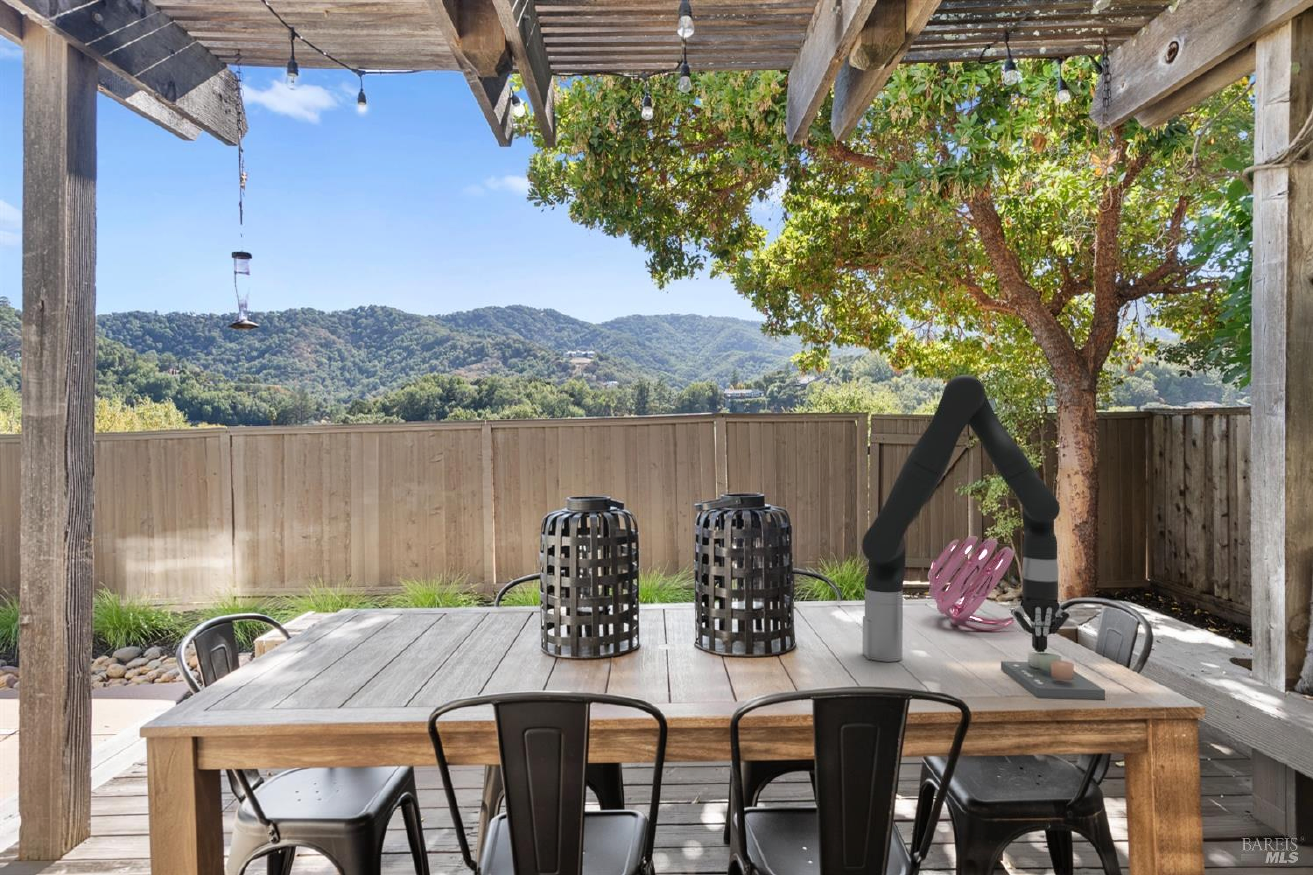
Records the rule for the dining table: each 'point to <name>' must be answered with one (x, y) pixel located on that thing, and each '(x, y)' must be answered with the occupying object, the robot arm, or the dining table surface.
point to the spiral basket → (968, 581)
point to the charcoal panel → (1051, 683)
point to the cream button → (1033, 658)
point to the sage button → (1047, 660)
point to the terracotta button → (1062, 670)
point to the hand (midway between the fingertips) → (1039, 651)
